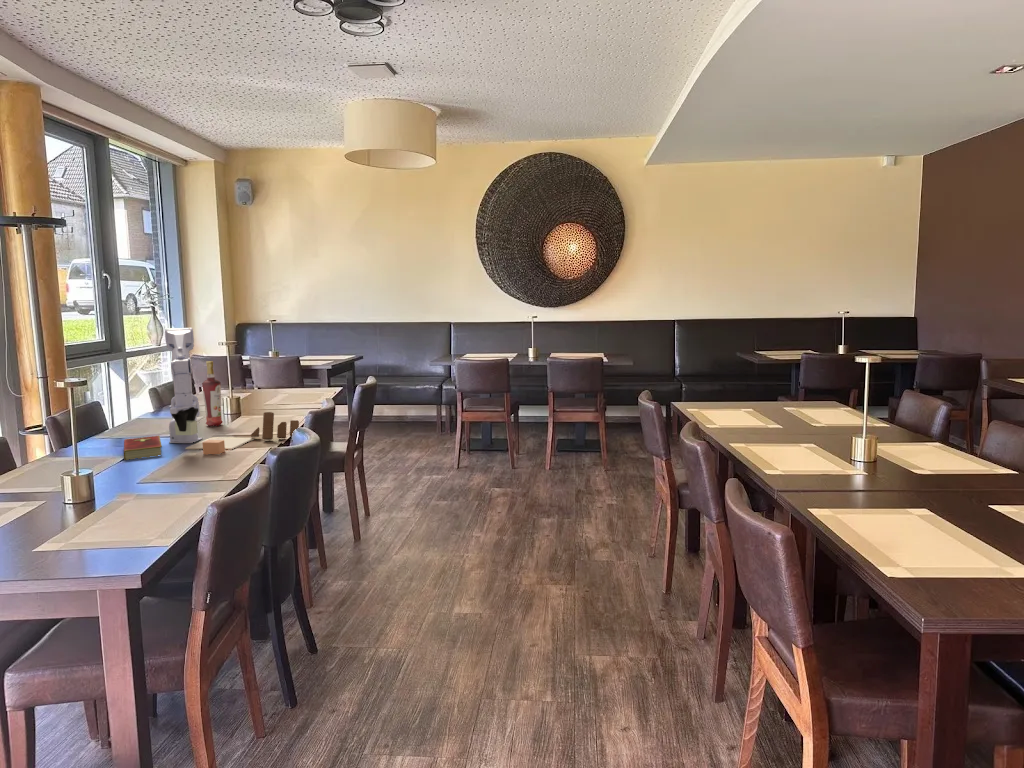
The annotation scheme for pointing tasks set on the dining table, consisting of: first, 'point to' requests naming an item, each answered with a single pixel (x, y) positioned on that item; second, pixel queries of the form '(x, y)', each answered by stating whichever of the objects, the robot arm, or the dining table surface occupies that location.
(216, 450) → the terracotta block
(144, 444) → the hardcover book
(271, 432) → the wooden block set
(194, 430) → the sage block
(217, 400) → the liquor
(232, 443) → the build pad
